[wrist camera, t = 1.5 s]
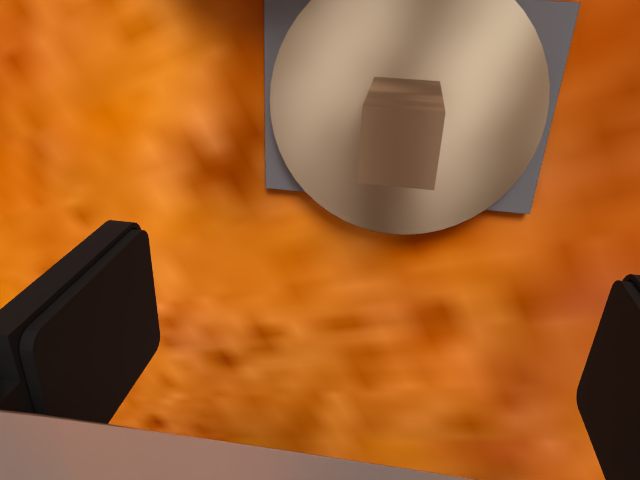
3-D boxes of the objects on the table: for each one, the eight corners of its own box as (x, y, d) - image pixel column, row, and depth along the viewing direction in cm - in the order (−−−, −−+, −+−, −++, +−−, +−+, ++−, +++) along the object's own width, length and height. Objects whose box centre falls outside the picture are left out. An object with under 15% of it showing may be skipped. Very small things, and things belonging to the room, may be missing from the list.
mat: (576, 1, 24) (580, 2, 23) (527, 209, 28) (529, 214, 28) (267, -14, 25) (263, -14, 25) (268, 184, 30) (265, 187, 29)
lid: (577, -38, 22) (636, -39, 16) (513, 238, 28) (539, 313, 22) (274, -50, 24) (225, -55, 18) (274, 213, 30) (237, 277, 24)
